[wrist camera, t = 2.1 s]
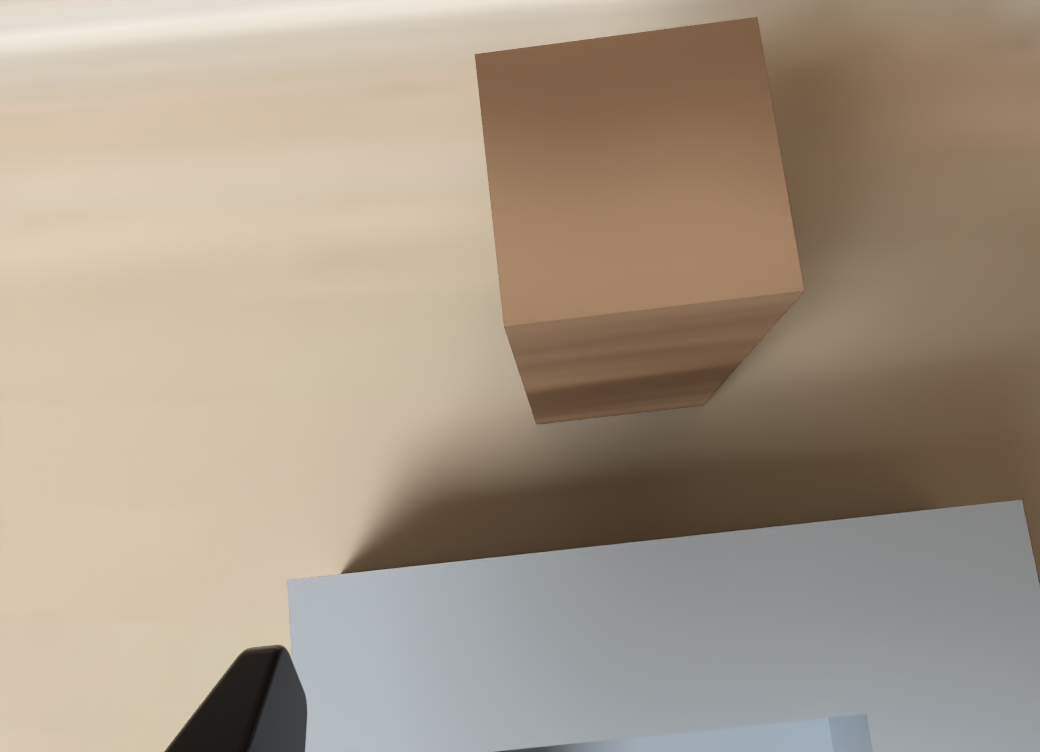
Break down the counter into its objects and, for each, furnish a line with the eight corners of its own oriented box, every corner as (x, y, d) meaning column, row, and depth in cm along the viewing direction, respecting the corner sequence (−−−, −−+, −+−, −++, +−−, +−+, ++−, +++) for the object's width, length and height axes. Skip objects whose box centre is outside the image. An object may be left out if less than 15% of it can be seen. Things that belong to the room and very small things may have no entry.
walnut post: (702, 405, 22) (803, 290, 12) (536, 424, 22) (504, 326, 12) (679, 246, 23) (757, 16, 13) (518, 265, 23) (474, 54, 13)
